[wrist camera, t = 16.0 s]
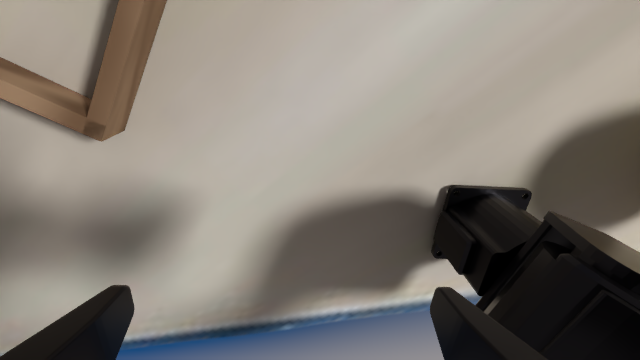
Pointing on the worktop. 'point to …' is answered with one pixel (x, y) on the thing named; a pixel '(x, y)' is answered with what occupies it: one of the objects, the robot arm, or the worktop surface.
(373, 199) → the worktop surface
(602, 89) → the worktop surface
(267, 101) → the worktop surface
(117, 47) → the frame
